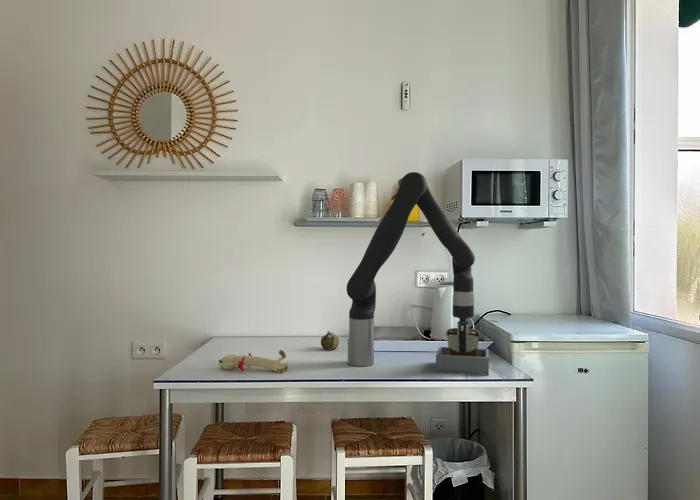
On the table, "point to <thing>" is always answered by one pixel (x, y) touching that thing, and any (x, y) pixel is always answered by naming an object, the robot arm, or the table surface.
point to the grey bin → (462, 362)
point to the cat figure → (253, 362)
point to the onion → (329, 341)
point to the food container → (470, 343)
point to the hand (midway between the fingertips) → (462, 350)
